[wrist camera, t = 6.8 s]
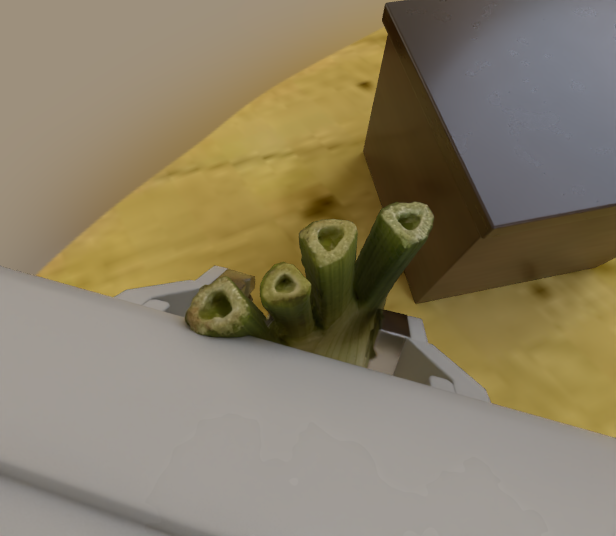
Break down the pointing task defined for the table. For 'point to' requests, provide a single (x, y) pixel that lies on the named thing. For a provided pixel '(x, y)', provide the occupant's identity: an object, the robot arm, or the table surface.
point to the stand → (499, 137)
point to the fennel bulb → (321, 287)
